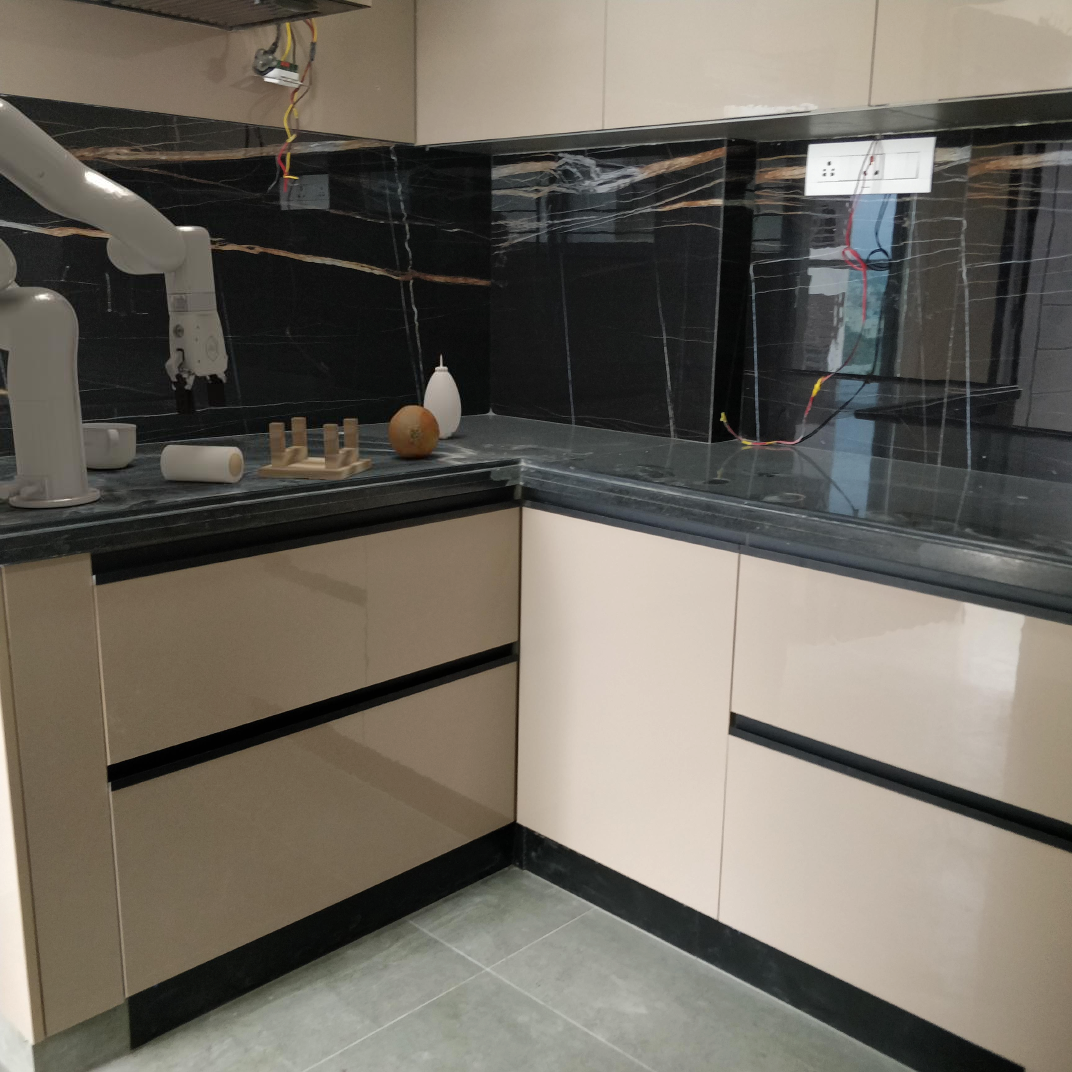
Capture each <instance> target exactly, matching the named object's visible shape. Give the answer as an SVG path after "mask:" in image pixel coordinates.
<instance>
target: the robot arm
mask: <svg viewBox="0 0 1072 1072" xmlns="http://www.w3.org/2000/svg"><path fill="white" fill-rule="evenodd" d="M0 174H1V175H3V176H4V177H5V178H6V179H8V180H9V181H10V182H12V183H13V185H15V186H16V187H18V188H19V189H20V190H22V191H23V192H24V193H26V195H28V196H29V197H30V198H32V199H33V200H35V202H37V203H38V204H39V205H41V206H42V207H44V208H45V209H47V210H48V211H50V212H52V213H55V214H58V215H59V216H62V217H65V218H67V219H68V218H69V219H72V220H76V221H79V222H82V223H85V224H88V225H90V226H93V227H94V228H97V229H99V230H101V231H103V232H104V233H105V232H106V233H107V234H108V235H110V236H109V238H108V240H107V243H106V252H107V257H108V258H109V261H110V262H111V263H112V264H113V265H114V266H115V267H116V268H117V269H118V270H120V271H122V272H124V273H127V274H131V275H150V274H164V278H165V279H164V280H165V281H164V282H165V286H166V287H165V288H166V289H165V290H166V299H167V300H166V301H167V308H168V315H169V331H168V332H169V334H168V335H169V352H170V358H169V359H168V360H167V361H166V363H165V366H164V367H165V369H166V372H167V375H168V379H169V381H170V382H171V387H172V390H174V397H175V406H176V407H175V408H176V413H177V414H178V415H196V413H197V403H196V397H195V394H196V393H195V389H194V388H192V386H193V383H194V381H195V378H196V377H195V376H198V377H206V378H207V380H208V382H206V391H207V399H208V406H209V407H223V408H224V407H227V405H228V400H227V398H228V397H227V391H226V382H227V376H226V374H227V372H228V361H229V360H228V359H229V358H228V357H229V356H228V355H227V351H226V346H225V338H224V334H223V328H222V324H221V320H220V316H219V313H218V310H217V300H216V299H217V298H216V289H215V279H214V278H215V277H214V267H213V258H212V247H211V237H210V234H209V232H208V230H207V229H206V228H205V227H202V226H195V225H179V226H178V225H177V226H175V225H174V223H172V222H171V220H169V219H168V218H167V217H166V216H164V215H163V214H162V213H161V211H158V210H157V209H156V208H155V207H154V206H153V205H152V204H151V203H150V202H148V201H147V200H145V199H144V198H142V197H141V196H139V195H138V194H137V193H135V192H133V191H132V190H130V189H129V188H127V187H125V186H123V185H121V184H120V183H117V182H116V181H114V180H112V179H111V178H108V177H107V176H105V175H104V174H102V173H100V172H98V171H97V170H94V169H92V168H90V167H89V166H87V165H86V164H84V163H83V162H82V161H80V160H79V159H78V158H77V157H75V156H74V155H73V154H72V153H70V152H69V151H68V150H67V149H66V148H64V147H63V146H62V145H61V144H59V143H58V142H57V141H56V140H55V139H53V138H52V137H51V136H50V135H49V134H47V133H46V132H45V131H44V130H43V129H42V128H41V127H39V126H38V125H37V124H36V123H34V121H32V120H31V119H29V118H28V117H27V116H26V115H25V114H24V113H22V112H21V111H20V110H19V109H17V108H16V107H15V106H14V105H12V104H11V103H9V101H6V100H4V99H3V98H2V97H0ZM17 269H18V268H17V261H16V258H15V256H14V254H13V252H12V251H11V249H10V248H9V246H8V245H7V244H6V243H5V241H4V240H2V239H1V238H0V349H1V350H4V351H7V352H8V358H7V359H8V360H7V372H6V373H7V375H6V376H7V378H6V379H7V391H8V392H7V393H8V400H9V407H10V417H11V418H10V419H11V427H12V432H13V433H12V434H13V442H14V452H15V461H16V463H15V464H16V470H17V471H16V472H17V475H14V476H13V479H14V481H13V482H12V484H5V485H2V486H0V499H1V500H7V499H8V502H9V504H10V505H11V506H12V507H16V508H25V509H26V508H27V509H46V508H47V509H48V508H63V507H69V506H71V507H72V506H77V505H82V504H87V503H91V502H94V501H97V500H98V499H99V500H100V498H101V493H100V492H101V491H100V490H99V489H98V488H95V487H91V486H89V482H88V481H89V480H88V471H87V467H86V458H85V448H84V437H83V427H82V424H83V418H82V408H81V398H80V392H79V389H80V388H79V381H78V348H79V335H80V334H79V333H80V331H79V321H78V317H77V314H76V311H75V309H74V308H73V306H72V304H71V303H70V302H69V301H68V300H67V299H66V298H65V297H64V296H63V295H61V294H60V293H59V292H57V291H54V290H53V289H50V288H47V287H46V288H45V287H41V286H19V285H18V283H16V281H15V279H16V276H17V271H18V270H17ZM185 378H186V379H185Z"/></svg>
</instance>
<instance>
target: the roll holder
mask: <svg viewBox="0 0 1072 1072" xmlns="http://www.w3.org/2000/svg"><path fill="white" fill-rule="evenodd" d="M358 419H359V418H344V419H343V420H342V421H343V442H344V447H343V448H340V441H339V437H340V436H339V435H340V434H339V424H338V423H337V424H336V423H326V424H323V425H322V431H323V448H324V450H323V451H324V452H323V453H324V457H315V456H313V457H311V456H308V438H307V419H306V417H300V416H299V417H296V416H295V417H292V418H291V421H290V422H291V437H292V446H289V447H286V433H285V431H286V429H285V422H271V423H269V424H268V427H269V428H268V429H269V430H268V431H269V445H270V459H271V460H270V461H271V464H269V465H265V466H261V467H259V468H258V469H257V470H258V472H257V473H258V478H267V479H268V478H274V479H293V478H309V479H308V480H319V479H325V481H342V480H344V479H347V478H349V477H352V476H354V475H356V474H360V473H362V472H364V471H366V470H370V469H372V459H369V458H360V447H359V444H360V443H359V424H358V423H359V420H358Z"/></svg>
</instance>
